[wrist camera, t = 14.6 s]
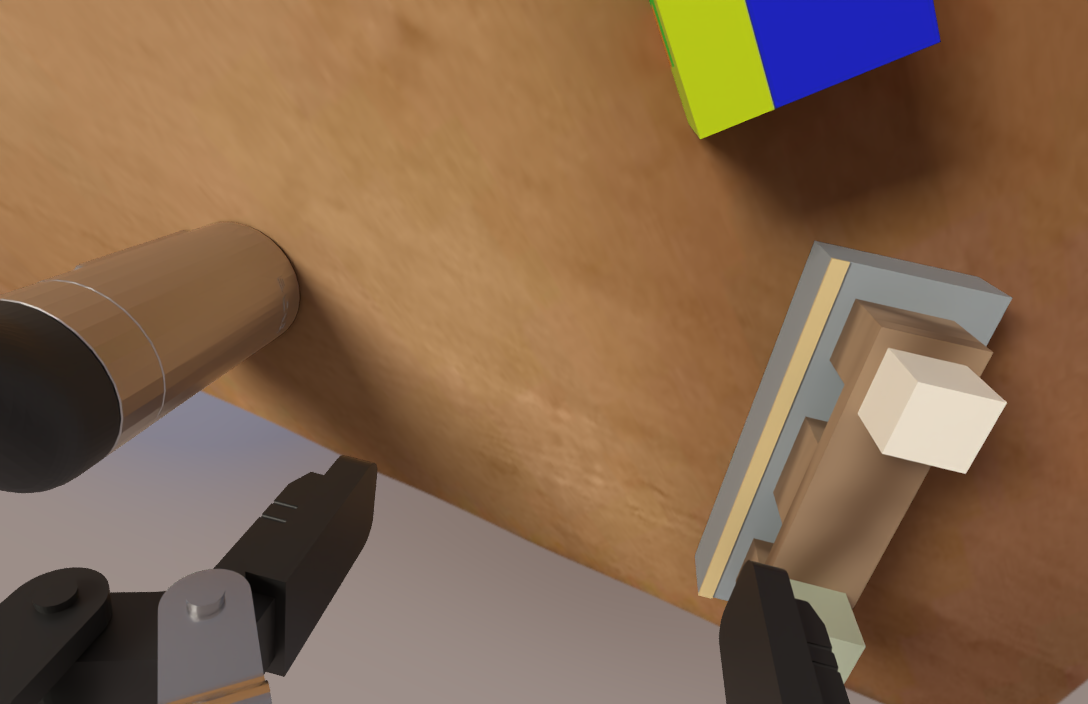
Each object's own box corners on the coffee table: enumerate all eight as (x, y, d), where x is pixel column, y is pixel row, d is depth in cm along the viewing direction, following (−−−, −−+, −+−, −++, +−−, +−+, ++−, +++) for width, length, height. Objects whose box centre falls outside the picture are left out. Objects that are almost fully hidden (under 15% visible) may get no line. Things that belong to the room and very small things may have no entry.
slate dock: (694, 555, 50) (698, 595, 46) (814, 240, 39) (832, 258, 35) (820, 588, 49) (834, 630, 46) (978, 277, 38) (1014, 299, 35)
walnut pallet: (735, 580, 45) (743, 630, 41) (855, 298, 36) (881, 326, 32) (813, 600, 45) (828, 652, 41) (954, 321, 36) (993, 352, 32)
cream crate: (857, 413, 34) (881, 453, 30) (888, 347, 32) (918, 381, 29) (932, 431, 34) (965, 473, 30) (966, 365, 32) (1006, 402, 29)
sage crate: (760, 622, 41) (770, 675, 37) (781, 576, 39) (794, 628, 36) (821, 638, 41) (838, 693, 37) (845, 593, 39) (865, 646, 35)
